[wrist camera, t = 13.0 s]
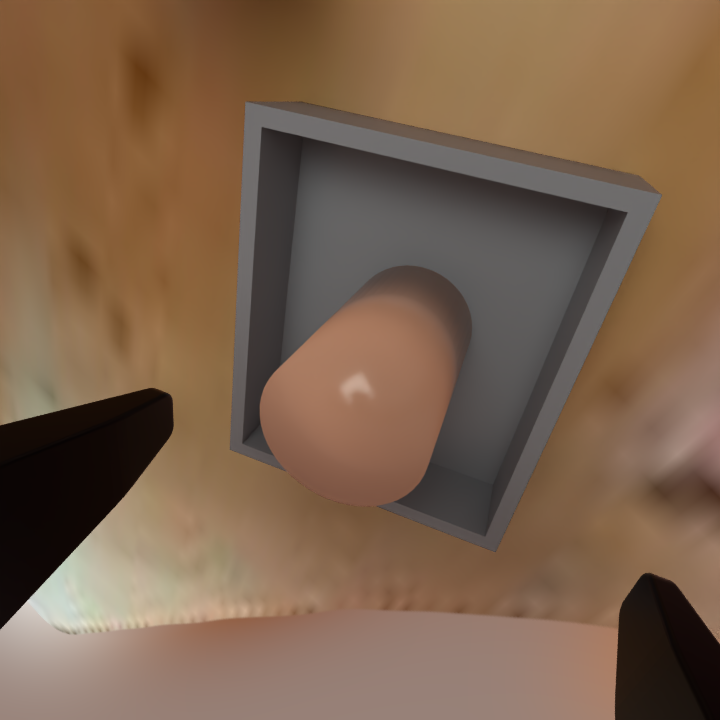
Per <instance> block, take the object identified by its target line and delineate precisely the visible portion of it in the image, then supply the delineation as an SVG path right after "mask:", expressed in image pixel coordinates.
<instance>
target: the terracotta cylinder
mask: <svg viewBox="0 0 720 720" xmlns="http://www.w3.org/2000/svg"><path fill="white" fill-rule="evenodd" d="M471 335H472V320H471V314H470V311H469V308H468V305H467V303H466V301H465V299H464V297H463V296H462V294H461V293H460V291H459V290H458V289H457V288H456V287H455V286H454V285H453V284H452V283H451V282H450V281H449V280H448V279H446V278H445V277H443V276H442V275H440V274H438V273H436V272H434V271H432V270H429V269H427V268H423V267H418V266H409V265H406V266H396V267H391V268H388V269H385V270H383V271H381V272H379V273H377V274H376V275H374V276H373V277H372V278H370V279H369V280H368V281H367V282H366V283H365V284H364V285H363V286H362V287H361V288H360V289H359V290H358V291H357V292H356V293H355V294H354V295H353V296H352V297H351V298H350V299H349V300H348V301H347V302H346V303H345V304H344V305H343V306H342V307H341V308H340V309H339V310H338V311H337V312H336V313H335V314H333V315H332V316H331V317H330V318H329V319H328V320H327V321H326V322H325V323H324V324H323V325H322V326H321V327H320V328H319V329H318V330H317V331H316V332H315V333H314V334H313V335H312V336H311V337H310V338H309V339H308V340H307V341H306V342H305V343H304V344H303V345H302V346H301V347H300V348H299V349H298V350H297V351H296V352H295V353H294V354H293V355H292V356H291V357H290V358H289V359H288V360H287V361H285V362H284V363H283V364H282V365H281V366H280V367H279V368H278V369H277V370H276V371H275V372H274V373H273V375H272V376H271V377H270V379H269V380H268V382H267V383H266V385H265V387H264V390H263V393H262V396H261V401H260V421H261V427H262V430H263V434H264V437H265V439H266V442H267V444H268V446H269V448H270V450H271V451H272V453H273V455H274V456H275V458H276V459H277V460H278V462H279V463H280V464H281V465H282V467H283V468H284V469H285V470H286V471H287V472H288V473H289V474H290V475H291V476H292V477H293V478H294V479H296V480H297V481H298V482H299V483H301V484H302V485H303V486H305V487H306V488H308V489H309V490H311V491H313V492H315V493H316V494H318V495H320V496H323V497H325V498H327V499H330V500H333V501H335V502H338V503H343V504H347V505H353V506H379V505H384V504H388V503H391V502H394V501H396V500H398V499H400V498H402V497H404V496H406V495H407V494H408V493H410V492H411V491H412V490H413V489H414V488H415V487H416V486H417V485H418V484H419V483H420V481H421V479H422V478H423V476H424V474H425V472H426V470H427V467H428V464H429V461H430V459H431V456H432V453H433V450H434V447H435V444H436V441H437V438H438V435H439V432H440V429H441V426H442V423H443V420H444V417H445V414H446V411H447V408H448V405H449V403H450V400H451V397H452V394H453V391H454V388H455V385H456V382H457V379H458V376H459V373H460V370H461V367H462V364H463V361H464V358H465V355H466V352H467V349H468V347H469V344H470V340H471Z"/></svg>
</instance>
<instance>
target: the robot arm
mask: <svg viewBox="0 0 720 720" xmlns="http://www.w3.org/2000/svg"><path fill="white" fill-rule="evenodd" d="M173 427H174V422H173V400H172V397H171V395H170V394H168V393H166V392H163V391H161V390H158V389H155V388H148V389H144V390H140V391H136V392H132V393H128V394H124V395H120V396H116V397H112V398H108V399H104V400H100V401H96V402H92V403H88V404H84V405H80V406H76V407H72V408H68V409H64V410H60V411H56V412H52V413H48V414H44V415H40V416H36V417H32V418H28V419H24V420H20V421H16V422H12V423H8V424H4V425H0V629H1V628H2V627H3V626H4V625H5V624H6V623H7V622H8V621H9V620H10V618H11V617H12V616H13V615H14V614H15V613H16V612H17V611H18V610H19V609H20V608H21V607H22V606H23V605H24V604H25V602H26V601H27V600H28V599H29V598H30V597H31V596H32V595H33V594H34V593H35V592H36V591H37V590H38V589H39V588H40V586H41V585H42V584H43V583H44V582H45V581H46V580H47V579H48V578H49V577H50V576H51V575H52V574H53V573H54V571H55V570H56V569H57V568H58V567H59V566H60V565H61V564H62V563H63V562H64V561H65V560H66V559H67V558H68V556H69V555H70V554H71V553H72V552H73V551H74V550H75V549H76V548H77V547H78V546H79V545H80V544H81V543H82V541H83V540H84V539H85V538H86V537H87V536H88V535H89V534H90V533H91V532H92V531H93V530H94V529H95V528H96V526H97V525H98V524H99V523H100V522H101V521H102V520H103V519H104V518H105V517H106V516H107V515H108V514H109V513H110V512H111V510H112V509H113V508H114V507H115V506H116V505H117V504H118V503H119V502H120V501H121V499H122V498H123V497H124V496H125V495H126V494H127V492H128V491H129V490H130V489H131V487H132V486H133V485H134V484H135V482H136V481H137V480H138V478H139V477H140V476H141V474H142V473H143V472H144V470H145V469H146V468H147V466H148V465H149V464H150V463H151V461H152V460H153V459H154V457H155V456H156V455H157V453H158V452H159V451H160V449H161V448H162V447H163V445H164V444H165V443H166V442H167V440H168V439H169V437H170V436H171V434H172V431H173ZM617 650H618V651H617V671H616V690H615V720H720V644H719V642H718V641H717V640H716V638H715V637H714V636H713V634H712V633H711V632H710V630H709V629H708V627H707V626H706V625H705V623H704V622H703V621H702V619H701V618H700V617H699V615H698V614H697V612H696V611H695V610H694V608H693V607H692V606H691V604H690V603H689V602H688V600H687V599H686V597H685V596H684V595H683V593H682V592H681V591H680V589H679V588H678V587H677V586H676V584H674V583H673V582H672V581H670V580H667V579H665V578H662V577H659V576H657V575H654V574H651V573H645V574H643V575H642V576H641V577H640V578H639V580H638V581H637V583H636V584H635V585H634V587H633V588H632V590H631V591H630V593H629V594H628V595H627V597H626V598H625V600H624V601H623V603H622V606H621V609H620V613H619V629H618V649H617Z"/></svg>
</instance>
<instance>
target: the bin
mask: <svg viewBox="0 0 720 720" xmlns="http://www.w3.org/2000/svg"><path fill="white" fill-rule="evenodd" d="M661 196H662V194H660V193H659V192H658V191H657V190H656V189H654V188H653V187H652V186H651V185H650V184H649V183H647V182H646V181H645V180H644V179H643V178H641V177H640V176H638V175H634V174H629V173H625V172H620V171H615V170H611V169H606V168H602V167H597V166H593V165H588V164H583V163H579V162H574V161H570V160H565V159H560V158H556V157H551V156H547V155H542V154H538V153H533V152H528V151H524V150H519V149H515V148H510V147H505V146H501V145H496V144H492V143H487V142H483V141H478V140H473V139H469V138H464V137H460V136H455V135H450V134H446V133H441V132H437V131H432V130H428V129H423V128H418V127H414V126H409V125H405V124H400V123H396V122H391V121H386V120H382V119H377V118H373V117H368V116H363V115H359V114H354V113H350V112H345V111H341V110H336V109H331V108H327V107H322V106H318V105H313V104H308V103H304V102H246V103H245V125H244V147H243V169H242V191H241V214H240V236H239V258H238V280H237V302H236V325H235V347H234V369H233V391H232V413H231V435H230V450H232V451H235V452H237V453H240V454H243V455H245V456H248V457H250V458H253V459H256V460H258V461H261V462H263V463H266V464H268V465H271V466H274V467H276V468H279V469H281V470H284V471H286V470H285V469H284V468H283V467H282V465H281V464H280V463H279V462H278V460H277V459H276V458H275V456H274V455H273V453H272V451H271V450H270V448H269V446H268V444H267V442H266V439H265V437H264V434H263V430H262V427H261V421H260V401H261V396H262V393H263V390H264V387H265V385H266V383H267V382H268V380H269V379H270V377H271V376H272V375H273V373H274V372H275V371H276V370H277V369H278V368H279V367H280V366H281V365H282V364H283V363H284V362H285V361H287V360H288V359H289V358H290V357H291V356H292V355H293V354H294V353H295V352H296V351H297V350H298V349H299V348H300V347H301V346H302V345H303V344H304V343H305V342H306V341H307V340H308V339H309V338H310V337H311V336H312V335H313V334H314V333H315V332H316V331H317V330H318V329H319V328H320V327H321V326H322V325H323V324H324V323H325V322H326V321H327V320H328V319H329V318H330V317H331V316H332V315H333V314H335V313H336V312H337V311H338V310H339V309H340V308H341V307H342V306H343V305H344V304H345V303H346V302H347V301H348V300H349V299H350V298H351V297H352V296H353V295H354V294H355V293H356V292H357V291H358V290H359V289H360V288H361V287H362V286H363V285H364V284H365V283H366V282H367V281H368V280H369V279H370V278H372V277H373V276H374V275H376V274H377V273H379V272H381V271H383V270H385V269H388V268H391V267H396V266H406V265H409V266H418V267H423V268H427V269H429V270H432V271H434V272H436V273H438V274H440V275H442V276H443V277H445V278H446V279H448V280H449V281H450V282H451V283H452V284H453V285H454V286H455V287H456V288H457V289H458V290H459V291H460V293H461V294H462V296H463V297H464V299H465V301H466V303H467V305H468V308H469V311H470V314H471V320H472V335H471V340H470V344H469V347H468V349H467V352H466V355H465V358H464V361H463V364H462V367H461V370H460V373H459V376H458V379H457V382H456V385H455V388H454V391H453V394H452V397H451V400H450V403H449V405H448V408H447V411H446V414H445V417H444V420H443V423H442V426H441V429H440V432H439V435H438V438H437V441H436V444H435V447H434V450H433V453H432V456H431V459H430V461H429V464H428V467H427V470H426V472H425V474H424V476H423V478H422V479H421V481H420V483H419V484H418V485H417V486H416V487H415V488H414V489H413V490H412V491H411V492H410V493H408V494H407V495H406V496H404V497H402V498H400V499H398V500H396V501H394V502H391V503H388V504H384V505H379V506H377V507H380V508H382V509H385V510H387V511H390V512H393V513H395V514H398V515H400V516H403V517H405V518H408V519H411V520H413V521H416V522H418V523H421V524H424V525H426V526H429V527H431V528H434V529H436V530H439V531H442V532H444V533H447V534H449V535H452V536H455V537H457V538H460V539H462V540H465V541H468V542H470V543H473V544H475V545H478V546H480V547H483V548H486V549H488V550H491V551H493V552H496V550H497V548H498V546H499V544H500V542H501V540H502V537H503V535H504V533H505V531H506V529H507V527H508V525H509V522H510V520H511V518H512V516H513V514H514V512H515V509H516V507H517V505H518V503H519V501H520V499H521V497H522V494H523V492H524V490H525V488H526V486H527V484H528V482H529V479H530V477H531V475H532V473H533V471H534V469H535V467H536V464H537V462H538V460H539V458H540V456H541V454H542V452H543V449H544V447H545V445H546V443H547V441H548V439H549V437H550V434H551V432H552V430H553V428H554V426H555V424H556V422H557V419H558V417H559V415H560V413H561V411H562V409H563V407H564V404H565V402H566V400H567V398H568V396H569V394H570V392H571V389H572V387H573V385H574V383H575V381H576V379H577V376H578V374H579V372H580V370H581V368H582V366H583V364H584V361H585V359H586V357H587V355H588V353H589V351H590V349H591V346H592V344H593V342H594V340H595V338H596V336H597V334H598V331H599V329H600V327H601V325H602V323H603V321H604V319H605V316H606V314H607V312H608V310H609V308H610V306H611V304H612V301H613V299H614V297H615V295H616V293H617V291H618V289H619V286H620V284H621V282H622V280H623V278H624V276H625V274H626V271H627V269H628V267H629V265H630V263H631V261H632V259H633V256H634V254H635V252H636V250H637V248H638V246H639V243H640V241H641V239H642V237H643V235H644V233H645V231H646V228H647V226H648V224H649V222H650V220H651V218H652V216H653V213H654V211H655V209H656V207H657V205H658V203H659V201H660V198H661Z"/></svg>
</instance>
